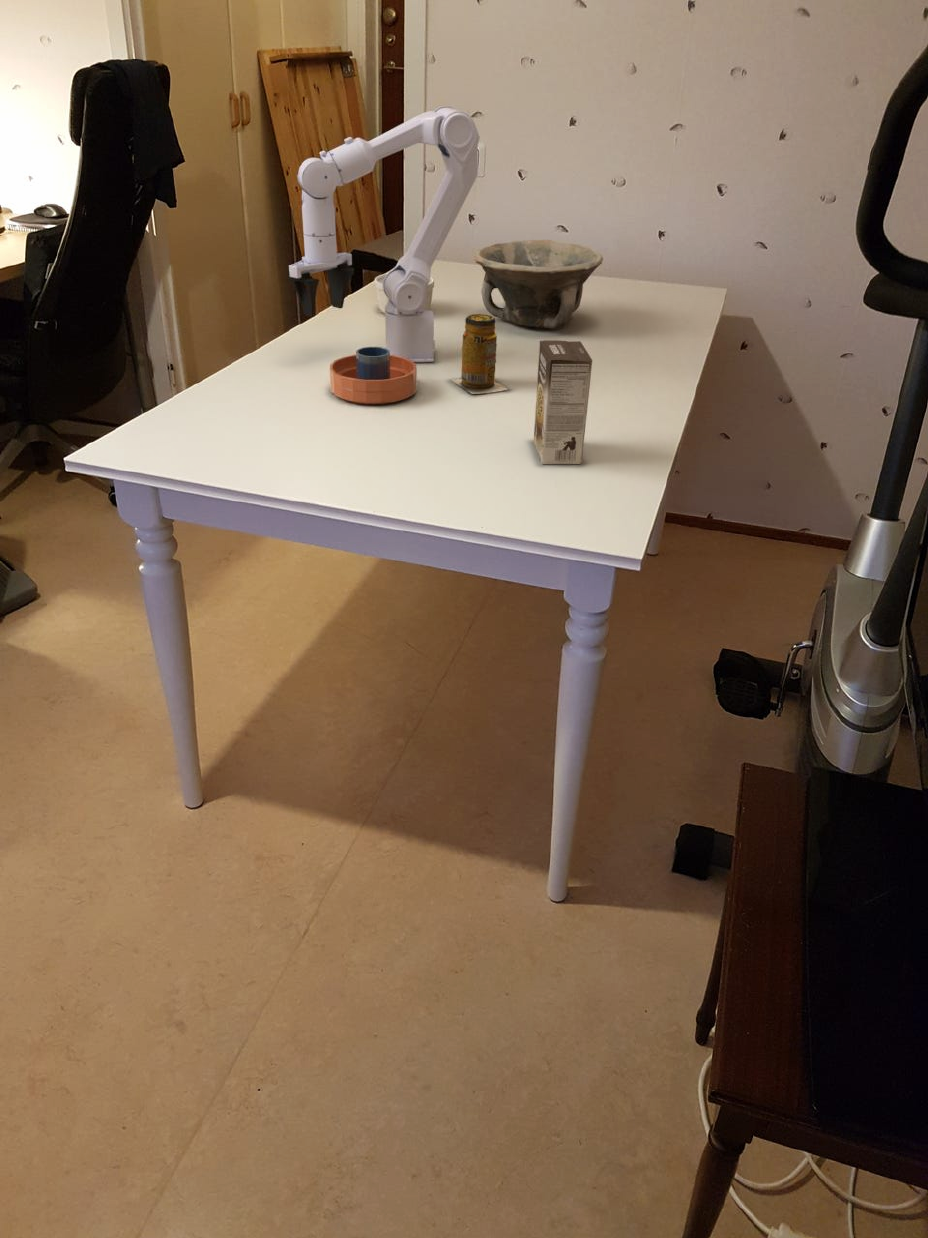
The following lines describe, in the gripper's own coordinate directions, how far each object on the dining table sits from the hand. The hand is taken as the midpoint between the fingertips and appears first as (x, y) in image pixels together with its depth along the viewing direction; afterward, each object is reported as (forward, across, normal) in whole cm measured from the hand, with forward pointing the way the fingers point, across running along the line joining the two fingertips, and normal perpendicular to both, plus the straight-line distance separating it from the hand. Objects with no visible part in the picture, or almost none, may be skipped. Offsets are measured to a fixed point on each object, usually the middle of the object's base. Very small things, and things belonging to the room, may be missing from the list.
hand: (323, 311), depth 174 cm
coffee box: (+10, +11, +57) cm, 59 cm away
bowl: (+10, -49, +16) cm, 53 cm away
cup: (+9, +7, +18) cm, 21 cm away
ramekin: (+10, -38, -11) cm, 41 cm away
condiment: (+10, -7, +30) cm, 33 cm away
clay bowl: (+9, +7, +18) cm, 21 cm away
